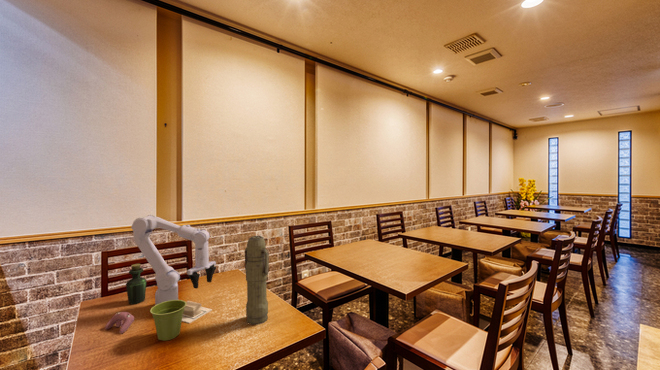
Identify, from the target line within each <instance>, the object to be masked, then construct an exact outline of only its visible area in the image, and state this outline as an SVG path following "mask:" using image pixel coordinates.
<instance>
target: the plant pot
mask: <svg viewBox="0 0 660 370" xmlns="http://www.w3.org/2000/svg"><path fill="white" fill-rule="evenodd" d="M185 306H186V301H185V300H184V299H183V300H182V299H178V300H170V301H165V302H162V303H159V304H157V305H155V304H154V306H152V307H151V308H150V310H149V312H150V313H151V314H152V319H153V321H154V325H155V327H154V328H155V330H156V336H157V339H158V340H159V341H163V342H164V341H170V340H173V339H175V338H176V337H177V336H179V335H180V333H181V328H182V316H183V312H184V308H185Z"/></svg>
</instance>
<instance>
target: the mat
mask: <svg viewBox="0 0 660 370" xmlns="http://www.w3.org/2000/svg"><path fill="white" fill-rule="evenodd" d="M212 311H213V309H212V308H207V307H204V306H201V313H200V314H198V315H196V316H194V317H192V316H188V315H185V314H183V316H182V322H183V323H186V324H191V323H193V322H195V321H196V320H198V319H199V318H201V317H203V316H204V315H207V314H208V313H210V312H212ZM182 322H181V323H182Z"/></svg>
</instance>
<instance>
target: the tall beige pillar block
mask: <svg viewBox="0 0 660 370" xmlns="http://www.w3.org/2000/svg"><path fill="white" fill-rule="evenodd" d="M185 302H186V306H185V308H184V312H183V314H185V315H188V316H192V317H194V316H196V315H198V314H200V313H201V307H202V303H200V302H195V301H191V300H187V301H185Z"/></svg>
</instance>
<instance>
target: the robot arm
mask: <svg viewBox="0 0 660 370" xmlns="http://www.w3.org/2000/svg"><path fill="white" fill-rule="evenodd" d="M130 229H131V230H132V234H133V242H134V243H135V244H136V246H137V247H138V249H139V250H140V251H141V252H140V253H142V255H143V256H144V258H145V259H146V261H147V262H148V263H149V266H150V267H151V268H152V270H153V271H154V272H155V276H154V280H155V281H156V286H157V289H156V291H155V294H154V299H155V300H154V302H155V304H154V306H155V305H157V304H159V303H162V302H165V301H170V300H179V284H178V282H179V281H180V280H181V276H180V273H179V271H177V270H175V269H174V268H173V267H172V266H170V265H168V264H167V262H166V261H165V260H164V257H163V255H161V253H160V251H159V250H158V249H157V247H156V246H155V244H154V242H153V241H152V239H150V237H151V234H152V232H153V230H154V229H162V230H165V231H169V232H173V233H177V236H178V237H180V238H183V239H185V240H189V241H192V242H193V243H194V244H195V246H194V253H195V254H194V255H195V258H194V259H195V263H194V264H195V266H193V267H191V268H190V269H187V272H186V273H187V277H188V278H189V279H190V281H191V283H192V286H193V289H199V280H200V276H201V274H200V273H198V272H201V271H203V270H205V275H206V281H207V282H206V283H212V280H213V277H214V274H215V272H216V269H217V267H216V265H217V262H216V261H214V260H213V261H210V258H209V257H210V255H209V254H210V253H209V239H210V237H211V236H210V232H209V231H208V230H206V229H201V228H199V227H198V228H196V227H192V226H191V224H183V225H179V224H176V223H173V222H172V221H169V220H166V219H164V218H161V217H159V216H155V215H151V214H150V215H147V216H142V217H138V218H136V219H135V220H134V221H133V222H132V225H131V228H130Z"/></svg>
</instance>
